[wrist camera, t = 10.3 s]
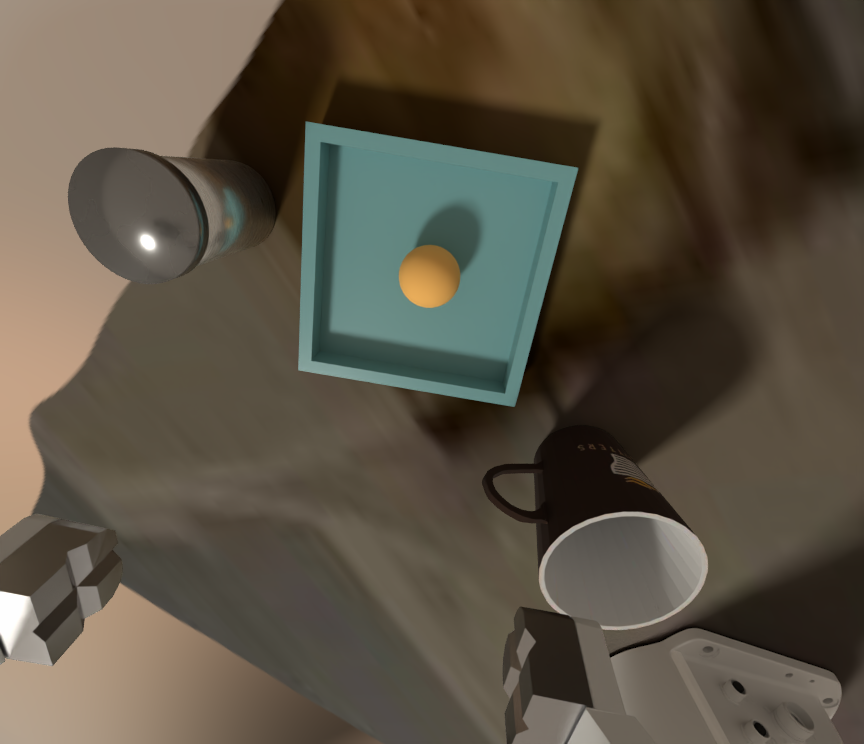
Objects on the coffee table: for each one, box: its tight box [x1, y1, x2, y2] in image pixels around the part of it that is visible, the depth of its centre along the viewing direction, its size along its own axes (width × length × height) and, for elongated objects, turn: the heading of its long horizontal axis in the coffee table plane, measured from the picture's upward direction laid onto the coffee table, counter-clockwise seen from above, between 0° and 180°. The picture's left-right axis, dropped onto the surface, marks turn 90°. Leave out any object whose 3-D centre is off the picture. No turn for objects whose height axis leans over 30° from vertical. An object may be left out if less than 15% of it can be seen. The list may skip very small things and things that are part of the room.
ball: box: [399, 245, 460, 308], centre depth 25 cm, size 4×4×4 cm
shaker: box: [68, 148, 276, 284], centre depth 23 cm, size 5×5×9 cm
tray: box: [298, 122, 578, 407], centre depth 26 cm, size 14×14×2 cm
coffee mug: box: [482, 426, 708, 630], centre depth 27 cm, size 12×9×10 cm
